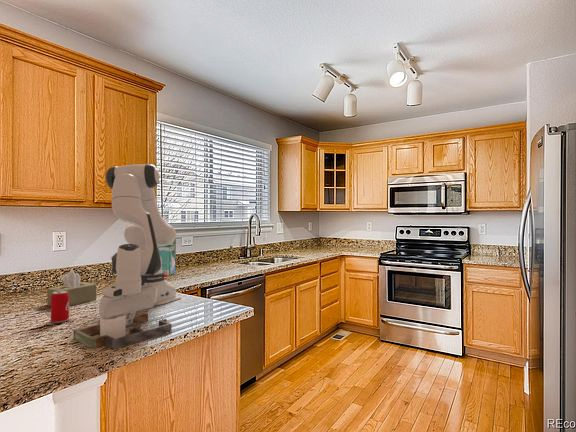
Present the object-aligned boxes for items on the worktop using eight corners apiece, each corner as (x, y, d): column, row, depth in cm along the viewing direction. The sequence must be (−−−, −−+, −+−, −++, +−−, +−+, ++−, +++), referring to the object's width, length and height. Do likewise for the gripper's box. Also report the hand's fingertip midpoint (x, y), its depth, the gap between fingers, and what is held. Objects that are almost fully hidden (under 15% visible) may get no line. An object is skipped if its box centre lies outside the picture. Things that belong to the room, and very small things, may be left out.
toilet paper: (116, 329, 134) (116, 311, 134) (129, 336, 127) (129, 317, 127) (93, 334, 128) (93, 315, 128) (105, 342, 121) (105, 322, 121)
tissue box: (85, 297, 182) (85, 267, 182) (97, 299, 178) (97, 268, 177) (46, 305, 166) (46, 272, 165) (58, 308, 161) (58, 274, 161)
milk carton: (163, 272, 257) (164, 238, 256) (175, 273, 255) (175, 238, 255) (157, 274, 248) (157, 239, 247) (169, 275, 246) (170, 239, 246)
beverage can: (72, 319, 146) (72, 290, 146) (63, 323, 140) (63, 293, 140) (56, 318, 146) (57, 290, 146) (47, 323, 140) (47, 293, 139)
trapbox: (146, 319, 146) (146, 312, 146) (176, 330, 134) (176, 322, 134) (73, 338, 124) (73, 330, 124) (101, 353, 112) (101, 343, 112)
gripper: (148, 282, 142) (148, 316, 143) (97, 291, 126) (96, 329, 126) (158, 284, 139) (157, 319, 139) (105, 293, 122) (105, 333, 122)
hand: (128, 324), depth 132 cm, fingers closed
